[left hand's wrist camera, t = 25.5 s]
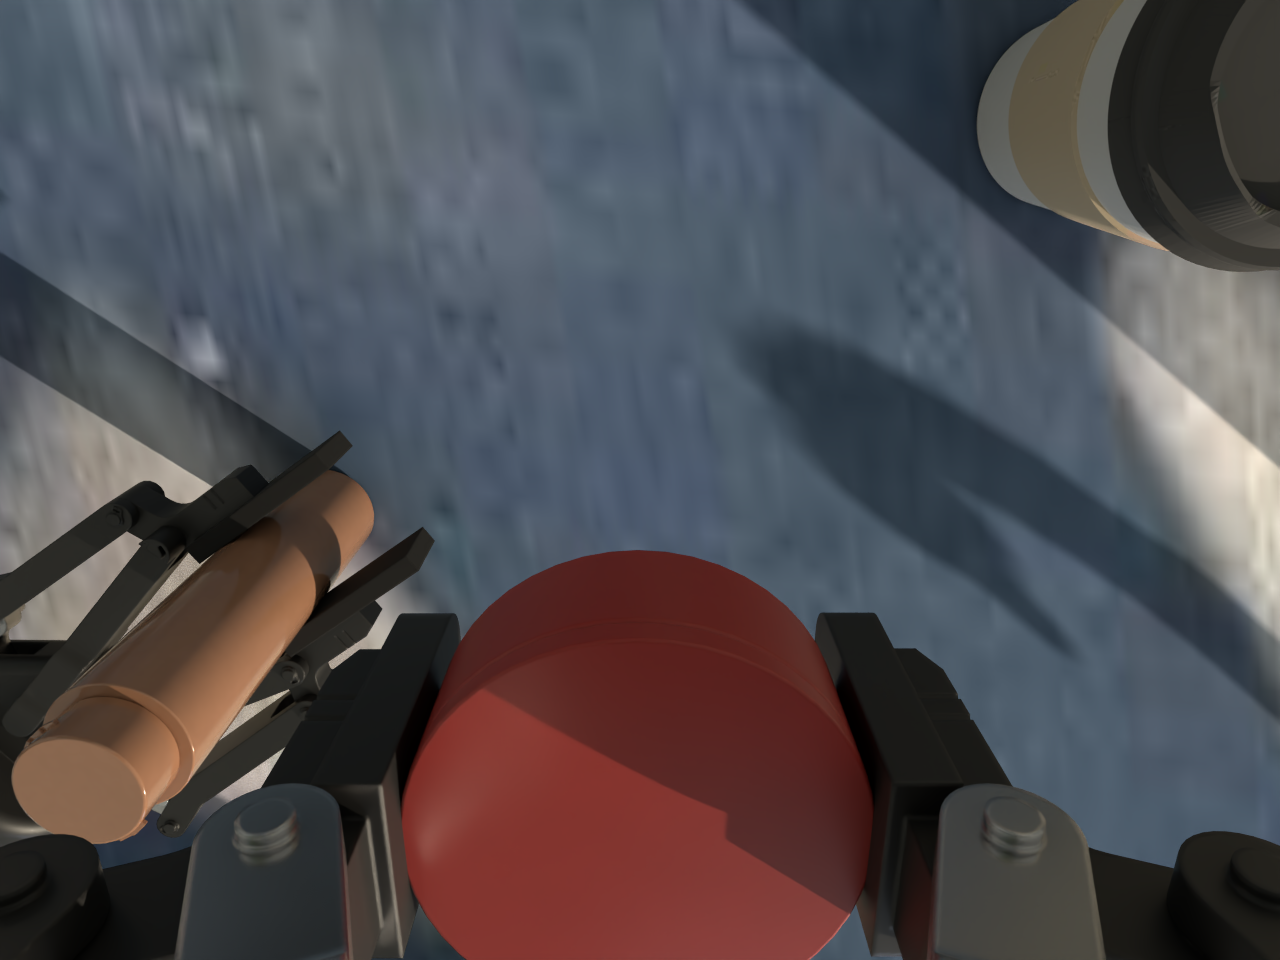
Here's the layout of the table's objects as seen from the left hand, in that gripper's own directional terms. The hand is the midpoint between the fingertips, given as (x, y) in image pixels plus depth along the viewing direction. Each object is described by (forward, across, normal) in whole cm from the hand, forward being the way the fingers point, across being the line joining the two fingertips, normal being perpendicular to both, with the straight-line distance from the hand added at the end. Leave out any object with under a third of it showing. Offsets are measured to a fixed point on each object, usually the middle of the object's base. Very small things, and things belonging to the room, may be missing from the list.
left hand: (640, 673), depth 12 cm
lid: (-3, 0, 0) cm, 3 cm away
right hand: (+20, -10, -6) cm, 23 cm away
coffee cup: (+27, +17, +8) cm, 33 cm away
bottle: (+27, -14, -8) cm, 31 cm away
